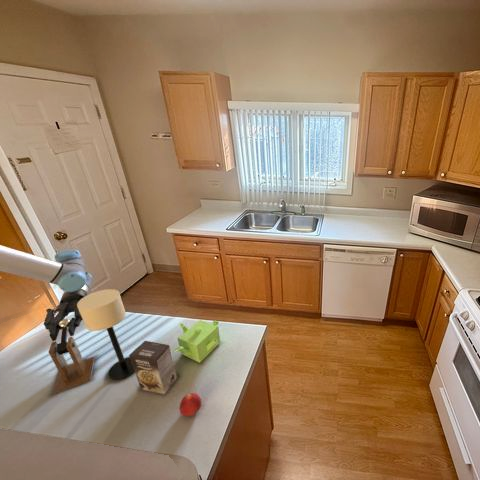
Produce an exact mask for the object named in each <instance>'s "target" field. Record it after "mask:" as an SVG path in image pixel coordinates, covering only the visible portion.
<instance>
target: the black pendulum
mask: <svg viewBox="0 0 480 480" xmlns="http://www.w3.org/2000/svg"><path fill="white" fill-rule="evenodd" d="M70 322H71V319H69V318H66V319H65V318H64V319H63V320H62V321H60V322H59V324H58V328H59V329H60V331H61V337H60V342H59V343H57V351H56V352H57V353H58V354H59V355H61V354H63V355H64V354H69V352H68V350H67V348H66V345H67V342H68V328H69V325H70Z"/></svg>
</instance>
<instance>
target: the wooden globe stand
mask: <svg viewBox="0 0 480 480" xmlns="http://www.w3.org/2000/svg"><path fill="white" fill-rule="evenodd" d="M57 344H58V342H57V340H55V341H52V342H51V344H50V347H49V348H48V354H49V356H50V358H51V360H52V362H53V363H54V366H55V367H56V370H57V371H58V373H59V374H58V377H57V380H56V383H55V386H54V390H53V393H52V394H53V395H54V394H58V393H60V392H63V391H65V390H68V389H72V388H74V387H77V386H79V385H82V384H85V383H88V382H91V380H92V376H93V370H94V365H95V359H96V357H95V356H92V357H89V358H86V359H84V358H83V356H82V354H81V352H80V349H79V347H78V345H77V343H76V341H75V338H74V336H69V337H68V338H67V345H66V348H67V350H68V355H69V356H70V358H71V360H72V362H73V363H71V364H68V362H67V360H66V358H65V356H64V354H61V355H59V354H58V353H57V352H56V351H57Z"/></svg>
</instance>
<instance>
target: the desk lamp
mask: <svg viewBox="0 0 480 480" xmlns="http://www.w3.org/2000/svg"><path fill="white" fill-rule="evenodd" d="M77 307H78V309H79V312H80V314H81V317H82V319H83V320H82V321H83V323H84V327H85V328H86V330H88V331H92V332H98V331H104V330H106V331H107V334H108V336H109V340H110V341H111V342H110V343H111V345H112V347H113V350H114V353H115V355H116V358H117V360H118V361H116V362H115V363H114V364H113V365H112V366H111V367H110V368H109V370H108V372H107V376H108V378H109V379H110V380H112V381H120V380H124V379H126V378H129V377H130V376H132V375H133V374H134V373H135V371H134V368H133V365H132V362H131V359H130V357H129V356H128V357H125V356H124V353H123V351H122V348H121V345H120V342H119V340H118V337H117V335H116V331H115V329H114V327H115V326H116V325H118V324H120V323H121V322H122V321H123V320H124V319H125V318H126V315H127V311H126V310H125V305H124V303H123V300H122V296H121V294H120V291H118V290H117V289H113V288H112V289H111V288H110V289H101V290H98V291H97V290H96V291H94V292H92V293H91V292H90V293H89V295H87V296H85V297H83V298H82V299H81V300H80V301H79V302H78V303H77Z"/></svg>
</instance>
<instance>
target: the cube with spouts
mask: <svg viewBox="0 0 480 480" xmlns="http://www.w3.org/2000/svg"><path fill="white" fill-rule="evenodd" d="M218 325H219V321H218V320H215V319H214V320H213V322H212V323H210V322H207V321H205V320H202V319H199V320H198V321H197V322H195V323H194V324H193V325H192V326H190V327H189V328H188V327H187V326H186V325H185V324H184V323H179V324H178V326H179V327H180V328H181V329H182V331H183V333H182V334H181V335H179V336H178V337H177V342H178V347H177V348H175V349H174V352H175V353H176V352H180V354H181V355H182V356H184V357H186V358H189V359H191V360H192V361H195V362H197V363H201V362H202V361H203V360H204V359H205V358H206V357H207V356H209V354H210V353H211V352H212V351H214V349H216V347H218V346H219V344H221V336H220V330H219V326H218Z"/></svg>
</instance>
